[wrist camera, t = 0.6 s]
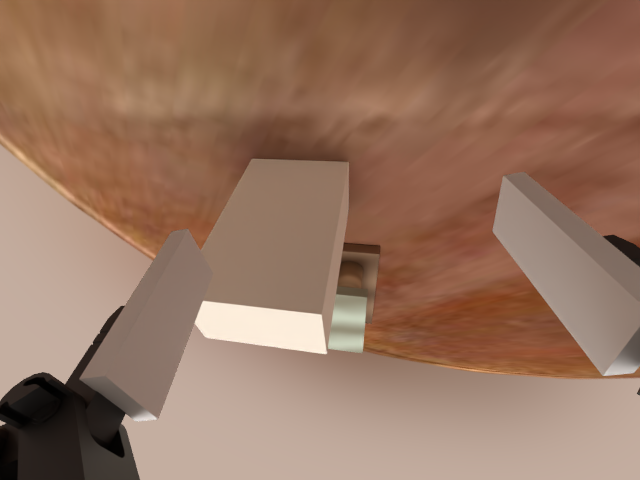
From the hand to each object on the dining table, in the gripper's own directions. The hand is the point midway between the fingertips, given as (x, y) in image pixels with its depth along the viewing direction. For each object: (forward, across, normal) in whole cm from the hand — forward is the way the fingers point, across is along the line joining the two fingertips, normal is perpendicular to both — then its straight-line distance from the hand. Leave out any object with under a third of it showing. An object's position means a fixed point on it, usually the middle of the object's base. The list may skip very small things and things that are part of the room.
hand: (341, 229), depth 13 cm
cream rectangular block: (+16, -4, -6) cm, 17 cm away
